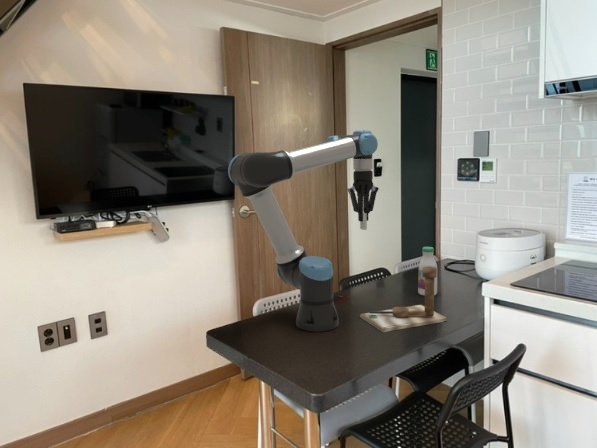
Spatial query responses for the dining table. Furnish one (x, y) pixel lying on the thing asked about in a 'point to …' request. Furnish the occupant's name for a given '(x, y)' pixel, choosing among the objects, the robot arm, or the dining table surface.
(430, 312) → the wooden l-shaped rod
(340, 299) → the cell phone
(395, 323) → the beige flat rectangular board
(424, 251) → the milk bottle
